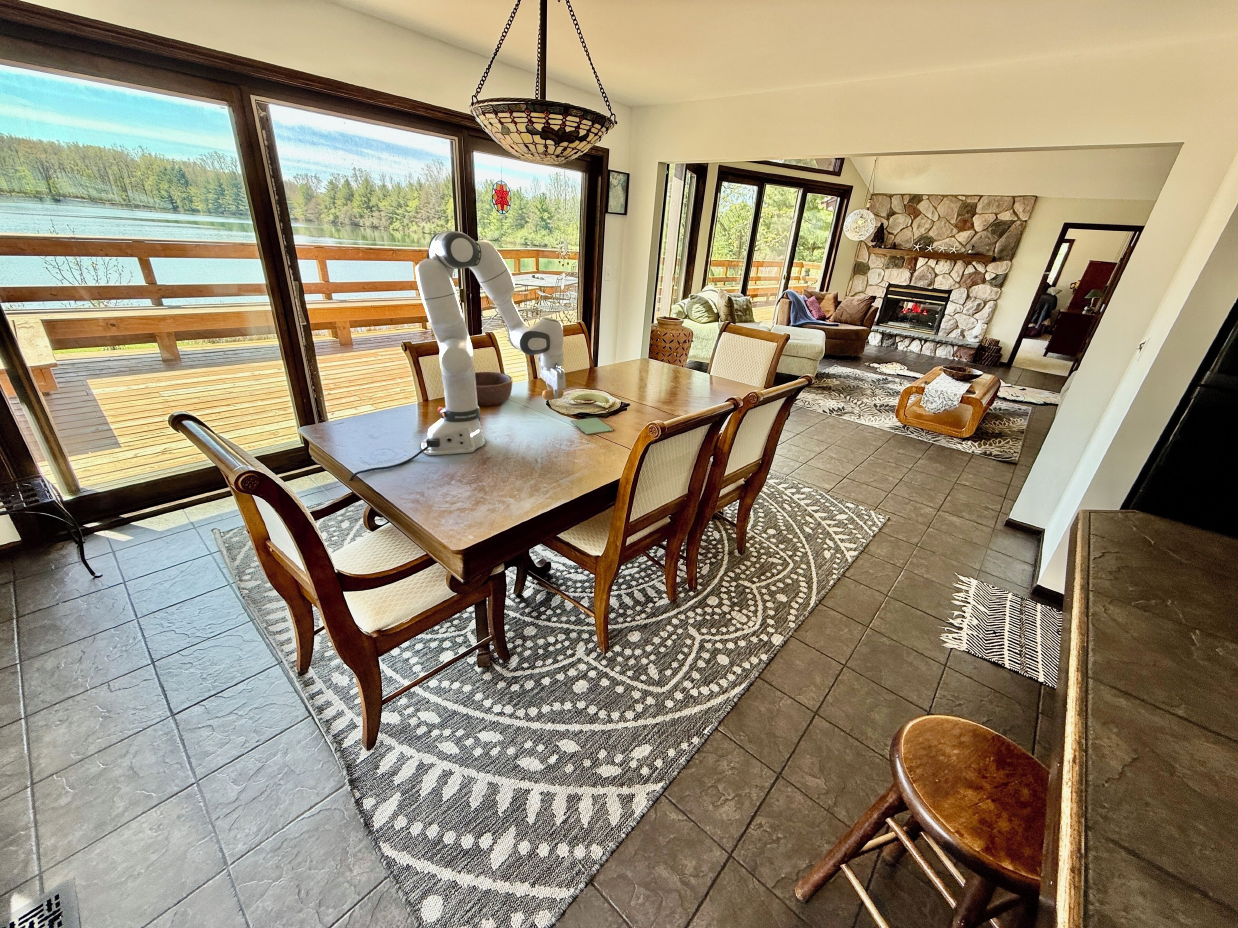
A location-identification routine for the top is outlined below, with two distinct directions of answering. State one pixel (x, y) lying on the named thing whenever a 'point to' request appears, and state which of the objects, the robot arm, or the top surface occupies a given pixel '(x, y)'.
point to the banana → (591, 397)
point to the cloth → (592, 425)
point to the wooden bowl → (492, 388)
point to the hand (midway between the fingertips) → (552, 395)
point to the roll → (551, 394)
